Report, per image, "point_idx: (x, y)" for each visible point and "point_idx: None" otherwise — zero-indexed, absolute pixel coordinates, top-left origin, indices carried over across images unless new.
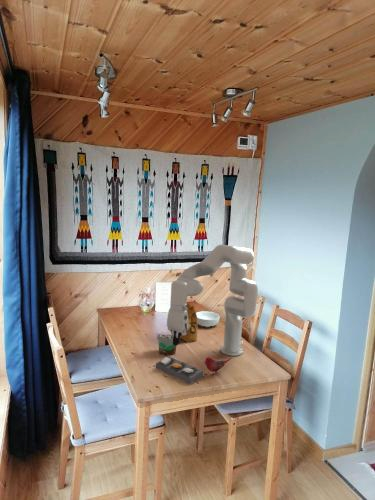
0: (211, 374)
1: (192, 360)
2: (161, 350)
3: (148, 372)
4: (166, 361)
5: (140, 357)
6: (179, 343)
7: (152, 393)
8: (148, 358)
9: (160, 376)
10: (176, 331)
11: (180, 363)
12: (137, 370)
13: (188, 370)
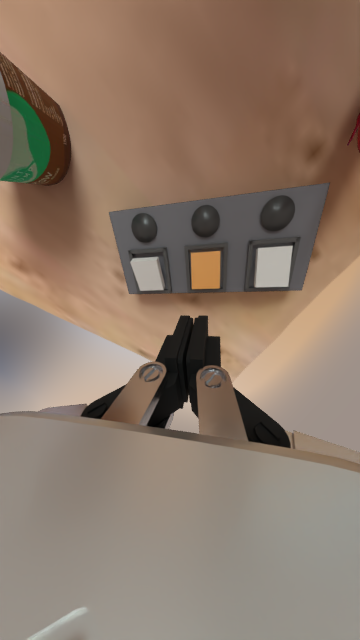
0: (355, 130)
1: (166, 75)
2: (35, 183)
3: (146, 316)
4: (156, 280)
5: (53, 269)
6: (207, 316)
7: (230, 374)
8: (67, 254)
9: (184, 310)
10: (146, 413)
11: (192, 228)
12: (122, 327)
13: (284, 282)
